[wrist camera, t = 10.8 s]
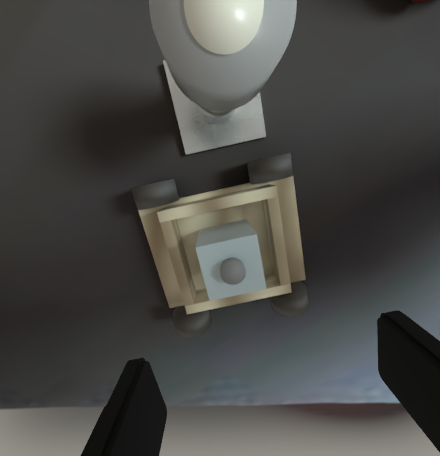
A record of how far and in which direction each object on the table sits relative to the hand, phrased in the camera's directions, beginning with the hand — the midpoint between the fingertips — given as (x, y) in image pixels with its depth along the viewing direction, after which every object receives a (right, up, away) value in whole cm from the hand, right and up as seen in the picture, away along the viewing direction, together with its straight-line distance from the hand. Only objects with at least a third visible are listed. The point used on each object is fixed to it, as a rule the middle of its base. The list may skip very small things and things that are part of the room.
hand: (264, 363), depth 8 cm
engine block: (-1, +4, +14) cm, 15 cm away
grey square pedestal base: (-2, +17, +11) cm, 21 cm away
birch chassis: (-1, +4, +15) cm, 16 cm away
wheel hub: (-2, +15, +3) cm, 16 cm away
